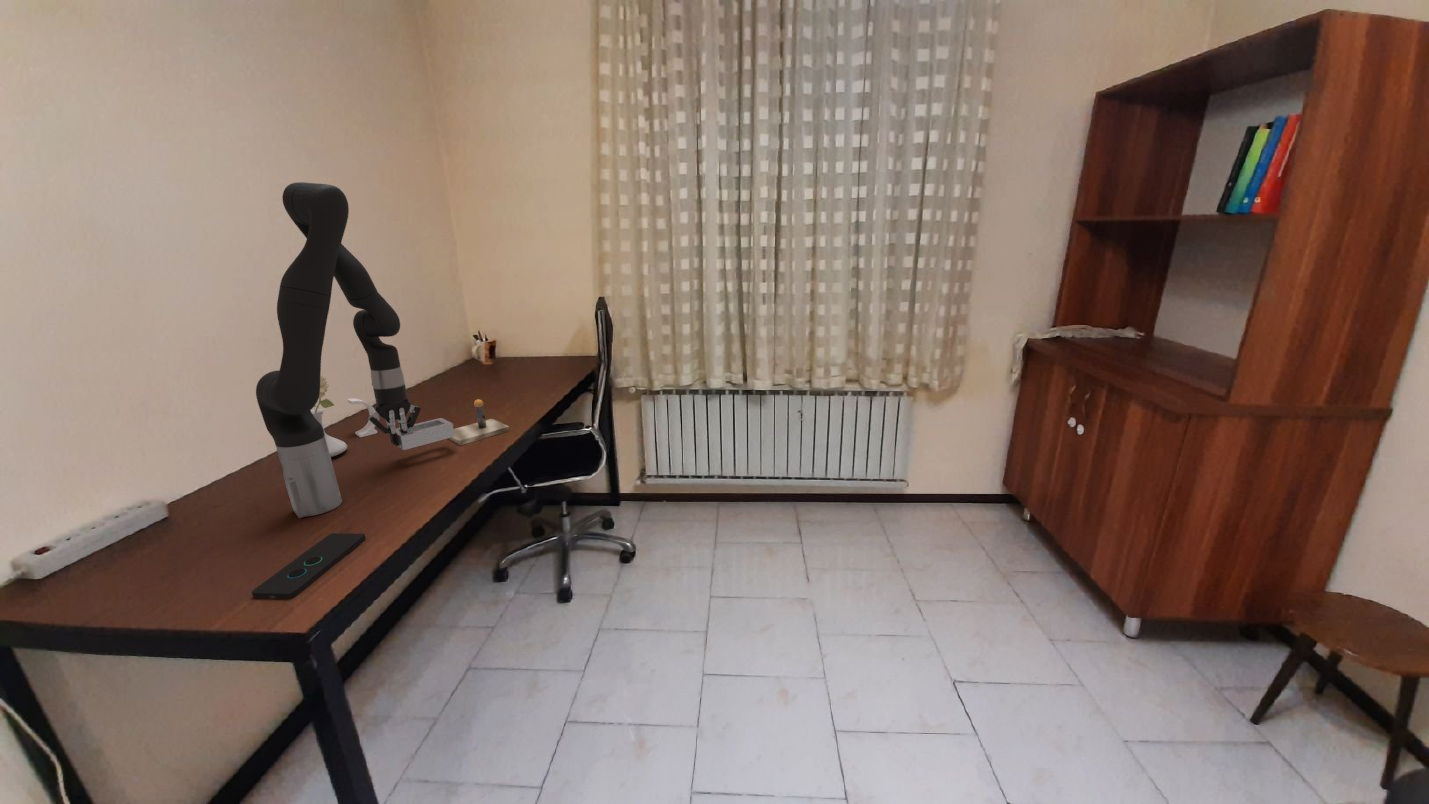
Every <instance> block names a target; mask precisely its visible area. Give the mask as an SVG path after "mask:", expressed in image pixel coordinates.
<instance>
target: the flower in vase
mask: <svg viewBox="0 0 1429 804" xmlns="http://www.w3.org/2000/svg"><path fill="white" fill-rule="evenodd" d="M328 387H329V384H328V381H327V380H326V377H324V376H323V375H320V394H319V398H318V401H319V402H317V403H318V404H317V405H315V406H314V407H313V408H312V409H311V413H312V414H313V416H314V417H315V419H316V420H317V421H318V422H319V423H320V424H321V425H322V427H323V430H324V434H325V438H326V442H327V446H328V449H329V453H330V457H331V458H333V457H335V456H337V455H340V454H342V453H343V452H345V451H346V450H347V448H348V445H347V444H346V442H344V440H341V439H338V438H335V437H333V436H330V435H328V433H326V432H325V429H324V426H323V415H324V412H325V409H327V408H330V407H334V406H335V404H334V403H333V402H332V401H331V400H330V399H328V398H324V399H322V398H323V397H324V396H325V395H326V393H327V391H328ZM319 406H321V407H322V408H319ZM314 408H315V409H314Z"/></svg>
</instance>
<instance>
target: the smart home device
mask: <svg viewBox="0 0 1429 804" xmlns="http://www.w3.org/2000/svg"><path fill="white" fill-rule="evenodd" d="M365 541H366V534H365V533H344V532H343V533H341V532H333V533H330V534H328V535H327V536H325V537H324V538H323V539H321V540H320V541H318V542H317V543H315V544H314V545H313V546H311V547H310V548H308V550H306V551H305V552H303V553H302V554H301V555H299V556H298V557H297V558H295V559H294V560H292V561H291V562H289V563H288V564H286V565H285V566H284V567H283V568H281V569H280V570H279V571H277V572H276V573H275V574H273V575H272V576H271V577H268V579H266V580H265V581H263V582H262V583H261V584H259V585H258V586H257V587H255V588H254V589H253V590H252V591H251V595H252V598H253V599H273V600H274V599H276V600H279V599H281V600H282V599H284V600H291V599H294V598H296V597H297V596H299V595H300V594H301V593H302V592H303V591H305V590H306V589H308V587H310V586H311V585H312V584H314V582H316V581H317V580H318V579H320V578H321V577H322V576H324V574H325V573H327V572H328V571H329V570H331V569H332V568H333V567H335V565H337V564H338V563H339V562H341V560H343V559H344V558H345V557H346V556H348V555H349V554H350V553H352V552H353V551H354V550H355V549H356V548H358V547H359V546H360V545H362V543H364V542H365Z"/></svg>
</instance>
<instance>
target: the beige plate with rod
mask: <svg viewBox="0 0 1429 804" xmlns="http://www.w3.org/2000/svg"><path fill="white" fill-rule="evenodd" d="M473 406H474V408H475V415H476V422H475V423H470V424H468V425H467V424H466V425H464V426H461V427H460V426H459V427H456V428H454V434H455V436H454V437H451V438H447V439H448V440H450V441H451V442H453V443H455V444H457V445H459V446H463V445H467V444H469V443H473V442H477V441H480V440H483V439H486V438H491V437H494V436H497V435H501V434H504V433H508V432H511V430H510V426H509V425H507V424H504V423H503V422H501V421H499V420H497V419H494V418H488V419H486V415H485V410H484V409H485V408H484V401H483V400H482V399H479V398H478V399H475V400H474V402H473Z"/></svg>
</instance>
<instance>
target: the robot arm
mask: <svg viewBox="0 0 1429 804" xmlns="http://www.w3.org/2000/svg"><path fill="white" fill-rule="evenodd" d="M347 198H348V197H346V195H345V193H344V191H342V189H340V188H339V187H338V186H335V185H332V184H326V183H313V182H293V183H290V184H288V185H287V186H286V187H285V188H284V190H283V193H282V204H283V207H284V209H285V211H286V213H287V215H288V217H290V219H291V220H292V222H293V223H294V224H295V226H296V227H297V228H298V230H299V231H300V232H301V233H302V235H303V236H304V237H305V239H306V241H305V244H304V246H303V248H302V250H300V252H299V253H298V255H297V256H296V257H295V258H294V260H293V261H292V262H291V264H289V266H288V267H287V269H286V271H285V272H284V274H283V275H282V277H281V280H280V284H279V289H278V297H277V302H276V314H277V315H276V316H277V322H278V325H279V331H280V335H281V340H282V357H281V361H280V362H281V363H280V367H279V370H278V369H277V370H273V371H269V372H267V373H266V374H264V375H262V377H260V379H259V380H258V381H257V384H256V388H255V397H256V401H257V404H258V407H259V410H260V413H261V416H262V419H263V422H264V424H265V427H266V429H267V432H268V433H269V434H270V436H271V438H272V439H273V440H274V441H273V442H274V445H275V448H276V451H277V454H278V458H279V461H280V462H279V463H280V464H281V468H282V472H283V473H282V476H283V480H284V483H285V486H286V490H287V494H288V496H289V500H290V504H291V507H292V510H293V512H294V514H295V515H296V517H298V519H301V518H304V517H314V516H317V515H318V516H319V515H321V514H324V513H327V512H330V511H333V510H335V509H336V508H338V507H340V505H342V503H343V499H342V495H341V492H340V487H339V483H338V480H337V476H336V473H335V469H334V465H333V462H332V461H333V460H332V457H330V453H329V449H328V446H327V442H326V438H325V434H324V432H325V429H324V426H323V427H322V425H323V424H322V425H321V424H320V423H319V422H318V421H317V420H316V419H315V417H314V416H313V414H312V413H311V410H313V409H314V408H315V407H314V406H317V405H316V404H317V403H318V401H319V394H320V376H322V375H321V373H322V372H321V369H322V366H321V365H322V353H323V347H324V341H325V337H326V336H325V334H326V328H327V320H328V316H329V312H330V307H331V299H332V291H333V290H332V289H333V283H334V282H333V281H334V279H335V280H336V282H337V284H338V286H339V288H340V290H341V291H342V293H343V295H344V297H345V298H346V300H347V302H348V303H349V305H350V306H351V307H353V308H357V309H360V310H358V311H357V312H356V313H355V315H354V316H353V319H352V324H353V328H354V332H355V334H356V336H357V338H358V340H359V341H360V343H361V345H362V347H363V349H364V351H365V353H366V355H367V358H368V364H369V367H370V368H369V369H370V380H371V386H372V388H373V389H372V390H373V394H374V399H375V403H376V407H375V411H376V412H375V413H374V414H373V415H371V416H370V415H368V416H367V420H368V421H370V422H372V423H373V424H374V425H375V427H376V428H377V429H378V430H379V431H380V432H382V433H383V434H389V438H390V443H391V444H392V445H394V446H395V447H398V446H399V442H398V437H397V433H396V429H397V428H396V424H397V423H396V421H397V422H398V428H400V430H399V431H400V432H402V433H404V434H406V433H407V430H408V429H409V428H410V427H413V426H414V424H416V421H417V419H418V416H419V415H420V412H421V409H422V408H421V407H420V406H417V405H413V404H411V402H410V401H409V398H408V397H409V396H408V393H407V388H406V387H407V386H406V381H405V376H404V373H403V370H402V366H401V361H400V356H399V351H398V349H397V347H396V346H395V345H393V344H388V343H385V342H383V341H382V340H381V338H382V337H383V338H389V337H393V336H396V335H398V333H399V332H400V330H401V320H400V317H399V316H398V313H397V312H396V310H395V309H394V308H393V306H391V305H390V303H388V301H387V300H386V299H385V298H384V297H383V295H381V294H380V293H379V291H378V289H377V287H376V286H375V284H374V282H373V280H372V278H371V276H370V274H369V272H368V270H367V269H366V267H365V266H364V265H363V264H362V263H361V261H359V259H358V258H357V257H355V255H353V254H352V252H351V251H349V250H348V249H347V247H346V246H344V245H343V243H342V241H343V238H344V234H345V230H346V227H347V223H348V220H349V212H350V211H349V202H348V199H347ZM408 412H409V415H408V417H407V418H406V416H407V414H408ZM380 417H381V418H382V419H384V420H385V424H386V426H387V427H386V426H384V425H383V424H382V423H381V421H380V420H381V419H380ZM323 429H324V430H323Z"/></svg>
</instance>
